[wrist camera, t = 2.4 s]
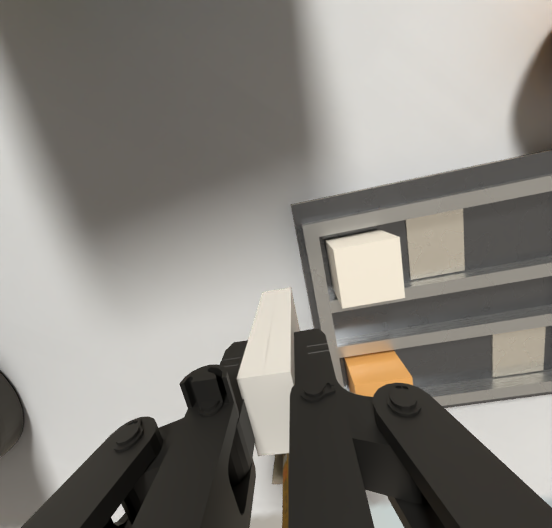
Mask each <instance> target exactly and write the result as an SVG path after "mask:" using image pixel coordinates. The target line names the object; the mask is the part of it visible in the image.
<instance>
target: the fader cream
mask: <svg viewBox="0 0 552 528" xmlns="http://www.w3.org/2000/svg"><path fill="white" fill-rule="evenodd" d="M325 242H326V248H327V255H328V261H329V267H330V273H331V279H332V285H333V290H334V292H335V294H336V296H337V298H338V301H339V303H340V305H341V307H342V309H343V308H349V307H355V306H361V305H366V304H372V303H378V302H384V301H390V300H396V299H402V298H405V291H404V280H403V269H402V258H401V246H400V237H398V236H396V235H393V234H390V233H387V232H385V231H382V230H375V231H370V232H365V233H360V234H355V235H350V236H344V237H339V238H334V239H329V240H325Z"/></svg>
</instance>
